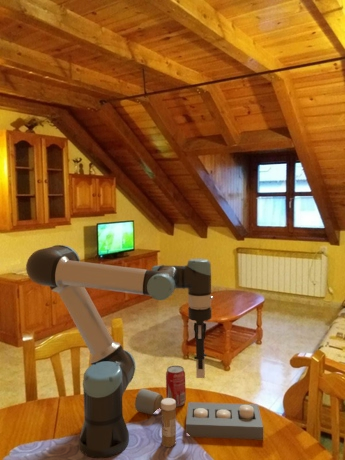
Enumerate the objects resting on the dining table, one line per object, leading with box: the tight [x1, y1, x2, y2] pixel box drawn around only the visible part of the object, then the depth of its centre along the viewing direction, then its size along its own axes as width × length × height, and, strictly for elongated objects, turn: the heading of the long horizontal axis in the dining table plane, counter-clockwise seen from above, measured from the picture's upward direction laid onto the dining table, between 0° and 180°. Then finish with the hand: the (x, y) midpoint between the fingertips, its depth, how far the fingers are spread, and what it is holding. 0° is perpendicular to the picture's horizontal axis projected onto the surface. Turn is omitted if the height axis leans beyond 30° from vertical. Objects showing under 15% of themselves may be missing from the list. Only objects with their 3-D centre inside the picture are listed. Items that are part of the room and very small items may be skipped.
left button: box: [194, 408, 208, 418], centre depth 130 cm, size 5×5×3 cm
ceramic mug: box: [134, 388, 164, 416], centre depth 140 cm, size 11×8×8 cm
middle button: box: [216, 410, 231, 419], centre depth 130 cm, size 5×5×3 cm
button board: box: [185, 401, 264, 440], centre depth 130 cm, size 24×14×4 cm, turn 85°
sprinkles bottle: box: [161, 397, 177, 448], centre depth 120 cm, size 5×5×14 cm
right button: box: [239, 405, 254, 419], centre depth 129 cm, size 5×5×3 cm
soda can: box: [165, 365, 187, 408], centre depth 145 cm, size 7×7×13 cm
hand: (200, 377), depth 129 cm, fingers closed
